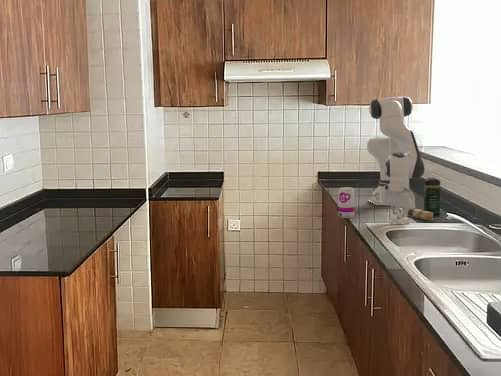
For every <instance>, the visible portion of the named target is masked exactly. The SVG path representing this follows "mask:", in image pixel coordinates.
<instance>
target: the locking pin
mask: <svg viewBox="0 0 501 376" xmlns="http://www.w3.org/2000/svg"><path fill="white" fill-rule="evenodd" d="M396 211H397V215H396V217H397V219H402V214H403V208H401V207H397V208H396Z"/></svg>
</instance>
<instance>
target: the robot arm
mask: <svg viewBox="0 0 501 376" xmlns="http://www.w3.org/2000/svg"><path fill="white" fill-rule="evenodd" d="M413 107H414V106H413V102H412V99H411V98H410V97H408V96H390V97H383V98H375V99H373V100H371V102H370V103H369V107H368V109H369V112H368V113H369V114H370V117H371V118H372V119H373V120H374V119H375V120H379V130H380V132H381V133H382V134H383V136H376V137H371V138H369V140H368V142H367V144H366V149H367V151H368V154H370V155H371V156H372V157H373V158H374V159H375V160H376V162H377V163H378V165H379V174H380V175H379V176H380V179H379V180H378V181H377V182H378V185H377V187H376V189H375V190H373V191H372V193H371V194H372V195H371V199H368V200H367V202H368V201H369V202H368V203H370V202H371V203H370V204H372V203H373V204H372V205H375V206H390V209H391V211H392V215H393V216H397V208H402V217H404V218H408V216H407V214H408V211H409V209H414V208H415V207H416V199H415V194H414V192H413V191H412V189H410V179H415V180H416V179H417V180H418V179H420V178H421V177H423V175H424V174H425V171H426V170H425V164H424V161H423V158H422V156H421V154H420V153H421V152H420V150H419V145H418V144H417V140H416V137H415V134H414V132H413V130H412V129H410V128H409V127H408V126H407V124H406V122H405V117H408V116H411V114H412V111H413V109H414V108H413ZM409 155H410V157H409Z"/></svg>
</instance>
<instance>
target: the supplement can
mask: <svg viewBox="0 0 501 376" xmlns="http://www.w3.org/2000/svg"><path fill="white" fill-rule="evenodd" d="M337 196H338V197H337V198H338V199H337V200H338V201H337V203H338V204H337V205H338V206H337V207H338V217H339V218H341V219H351V218H355V216H356V212H355V211H356V209H355V207H356V203H355V199H356V198H355V189H354V188H353V187H350V186H346V187H345V186H344V187H339V189H338V190H337Z"/></svg>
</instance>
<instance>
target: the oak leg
mask: <svg viewBox="0 0 501 376" xmlns="http://www.w3.org/2000/svg"><path fill="white" fill-rule="evenodd" d="M407 214H408V215H413V216H417V217H421V218H425V219H434V215H433V213H432V212H428V211H424V209H420V208H418V207H416V206H415V208H414V209H409V211H408V213H407Z"/></svg>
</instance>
